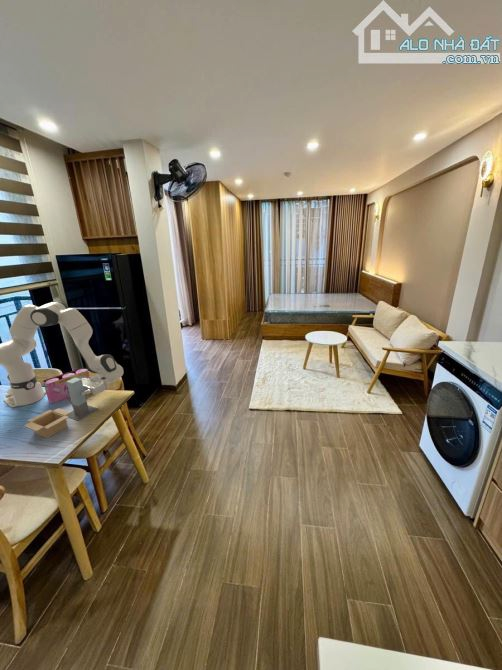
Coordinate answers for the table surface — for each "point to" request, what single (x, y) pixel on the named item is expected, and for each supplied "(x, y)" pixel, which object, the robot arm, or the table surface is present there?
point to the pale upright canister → (77, 396)
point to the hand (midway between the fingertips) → (75, 392)
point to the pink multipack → (62, 384)
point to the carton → (49, 422)
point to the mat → (79, 417)
